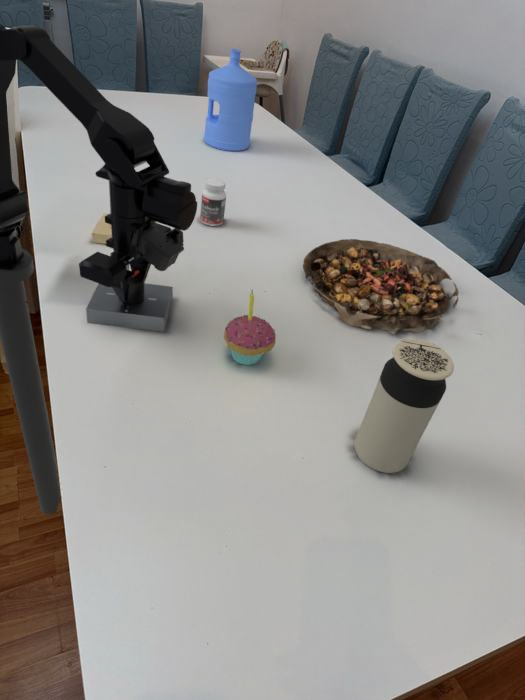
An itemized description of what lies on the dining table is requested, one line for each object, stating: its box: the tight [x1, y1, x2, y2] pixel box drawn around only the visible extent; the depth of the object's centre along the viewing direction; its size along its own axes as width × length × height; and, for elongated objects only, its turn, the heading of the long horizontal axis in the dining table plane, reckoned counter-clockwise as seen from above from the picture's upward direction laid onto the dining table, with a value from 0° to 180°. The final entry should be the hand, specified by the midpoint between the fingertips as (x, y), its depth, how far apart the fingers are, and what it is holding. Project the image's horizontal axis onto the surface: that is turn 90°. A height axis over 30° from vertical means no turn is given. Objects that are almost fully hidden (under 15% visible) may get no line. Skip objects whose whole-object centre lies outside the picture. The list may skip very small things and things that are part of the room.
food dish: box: [302, 238, 459, 335], centre depth 106 cm, size 35×33×8 cm
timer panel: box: [85, 282, 174, 333], centre depth 88 cm, size 13×10×3 cm
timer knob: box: [122, 270, 145, 304], centre depth 86 cm, size 4×4×4 cm
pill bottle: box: [200, 177, 227, 227], centre depth 119 cm, size 6×6×10 cm
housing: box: [91, 212, 158, 245], centre depth 109 cm, size 12×10×4 cm
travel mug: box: [353, 338, 455, 474], centre depth 66 cm, size 8×8×18 cm
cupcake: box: [223, 289, 277, 366], centre depth 80 cm, size 9×8×12 cm
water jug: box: [203, 48, 258, 152], centre depth 161 cm, size 16×16×28 cm
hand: (131, 294), depth 87 cm, fingers closed on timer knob, 4 cm apart
